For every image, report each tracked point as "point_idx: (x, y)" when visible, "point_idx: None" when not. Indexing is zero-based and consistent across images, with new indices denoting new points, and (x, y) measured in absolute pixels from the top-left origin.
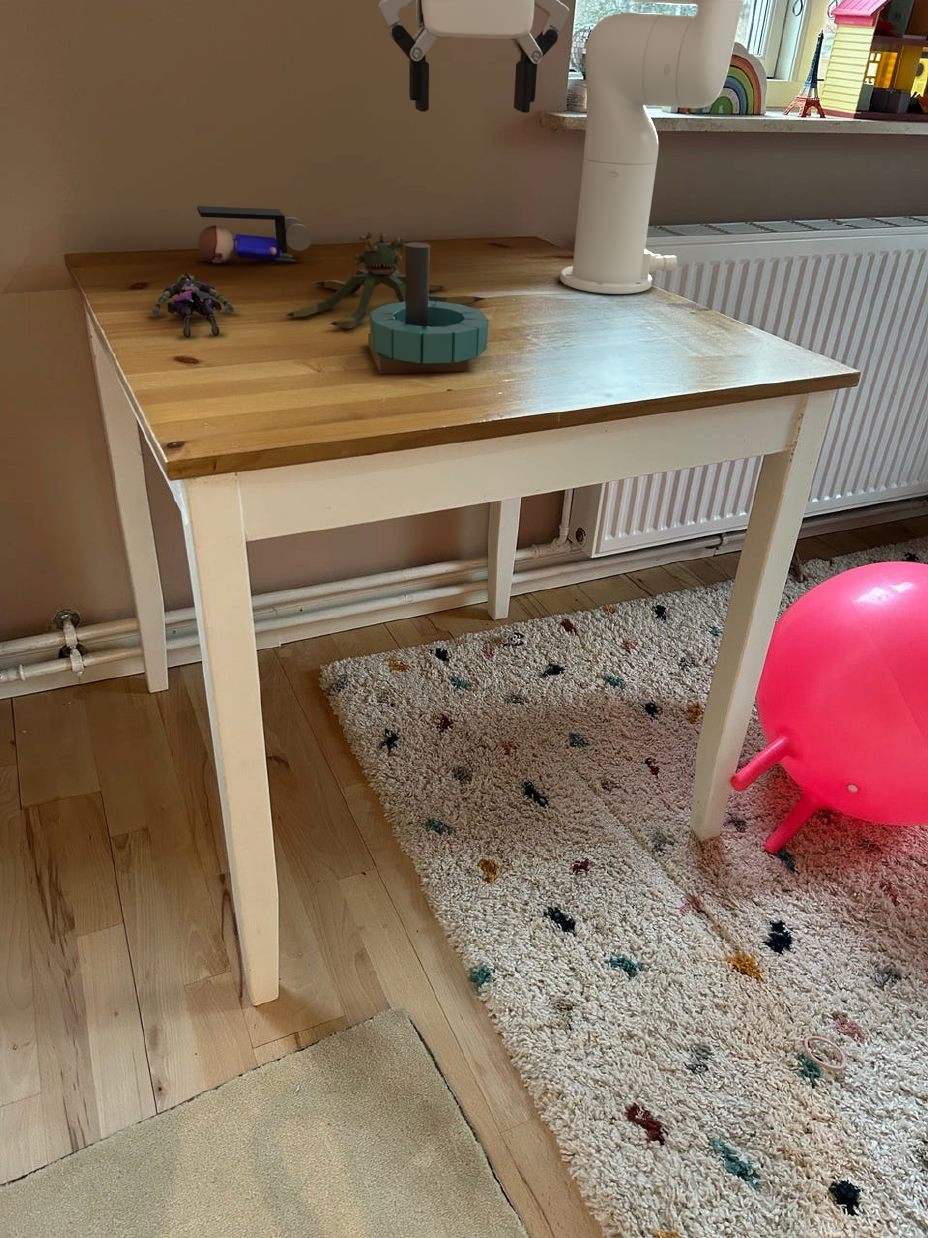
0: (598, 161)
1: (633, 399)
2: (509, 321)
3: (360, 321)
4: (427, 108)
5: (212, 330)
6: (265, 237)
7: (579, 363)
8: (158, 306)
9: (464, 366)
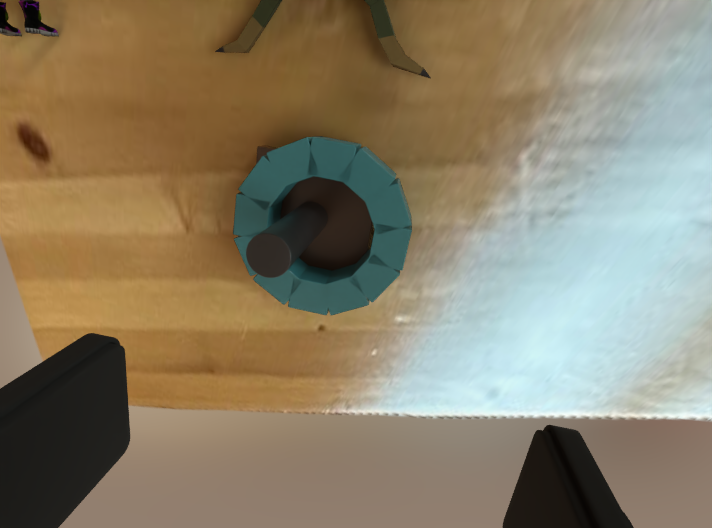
0: None
1: (514, 411)
2: (542, 52)
3: (275, 10)
4: (123, 446)
5: (46, 35)
6: None
7: (528, 288)
8: None
9: None
